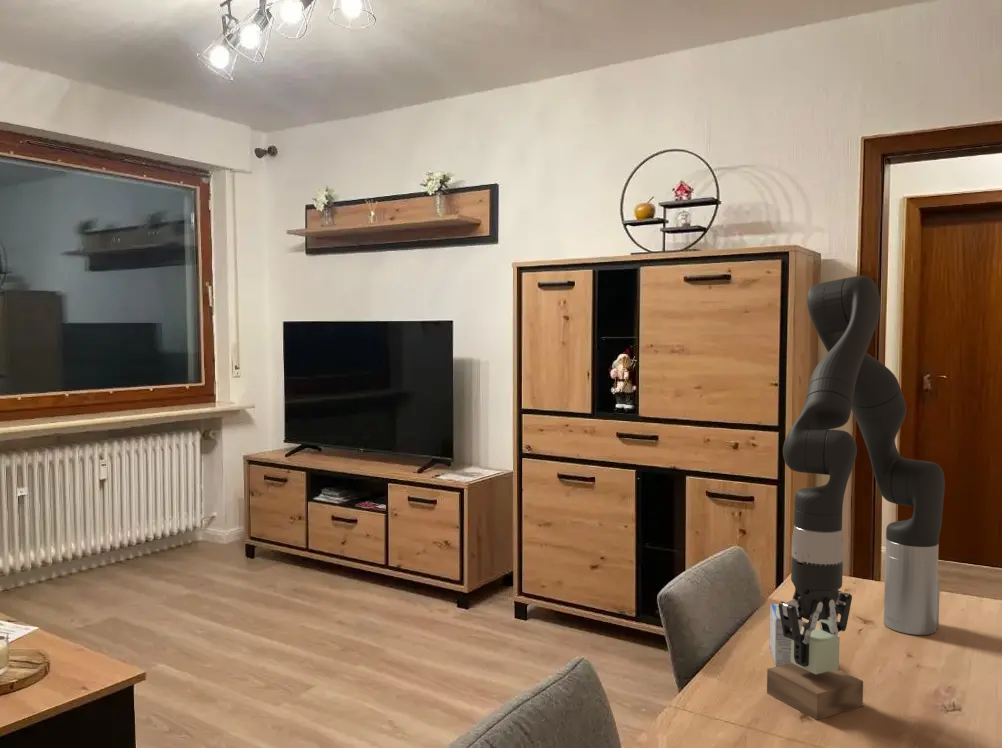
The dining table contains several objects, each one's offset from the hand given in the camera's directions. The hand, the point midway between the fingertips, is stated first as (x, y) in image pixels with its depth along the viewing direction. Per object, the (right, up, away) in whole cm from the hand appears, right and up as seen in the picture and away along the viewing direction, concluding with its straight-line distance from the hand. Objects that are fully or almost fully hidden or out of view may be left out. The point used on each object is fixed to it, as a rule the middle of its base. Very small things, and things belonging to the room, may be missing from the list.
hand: (814, 661), depth 126 cm
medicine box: (+1, -6, +16) cm, 17 cm away
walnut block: (0, -6, 0) cm, 6 cm away
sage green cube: (0, -1, 0) cm, 1 cm away
